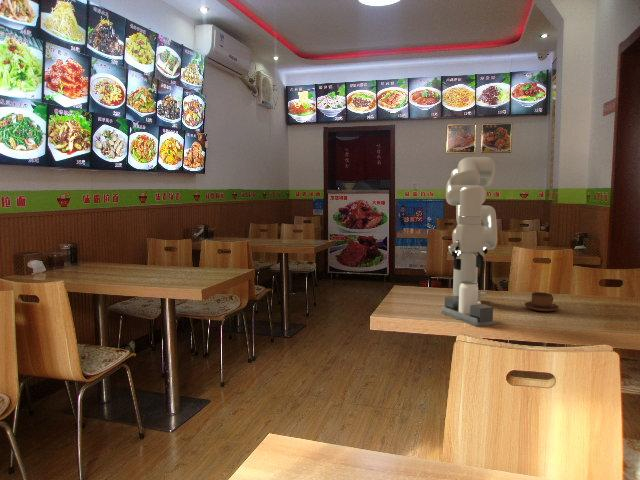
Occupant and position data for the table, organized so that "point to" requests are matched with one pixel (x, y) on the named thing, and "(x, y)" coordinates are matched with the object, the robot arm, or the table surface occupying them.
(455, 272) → the robot arm
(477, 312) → the gray slotted holder
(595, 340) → the table surface
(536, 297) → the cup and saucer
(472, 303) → the can
